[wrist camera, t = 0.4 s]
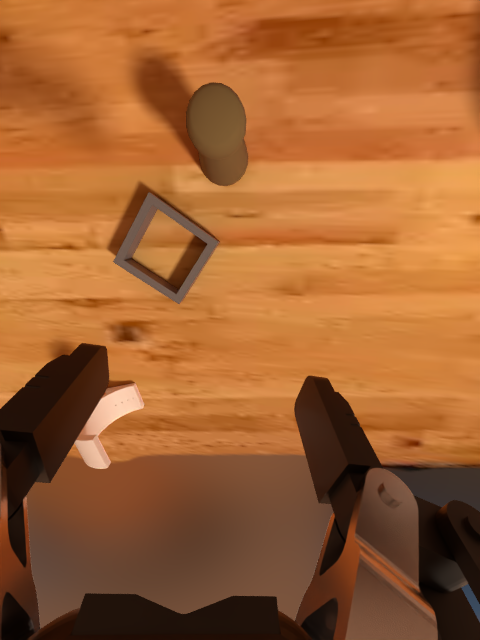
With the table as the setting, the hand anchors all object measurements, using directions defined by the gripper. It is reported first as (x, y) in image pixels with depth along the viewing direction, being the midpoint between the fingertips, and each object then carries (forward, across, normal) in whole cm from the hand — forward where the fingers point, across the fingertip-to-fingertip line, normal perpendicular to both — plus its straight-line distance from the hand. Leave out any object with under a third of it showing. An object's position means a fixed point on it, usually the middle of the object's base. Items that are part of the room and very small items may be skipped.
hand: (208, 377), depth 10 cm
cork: (+28, +2, -9) cm, 30 cm away
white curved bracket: (+22, +12, +28) cm, 38 cm away
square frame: (+26, +7, +3) cm, 28 cm away
